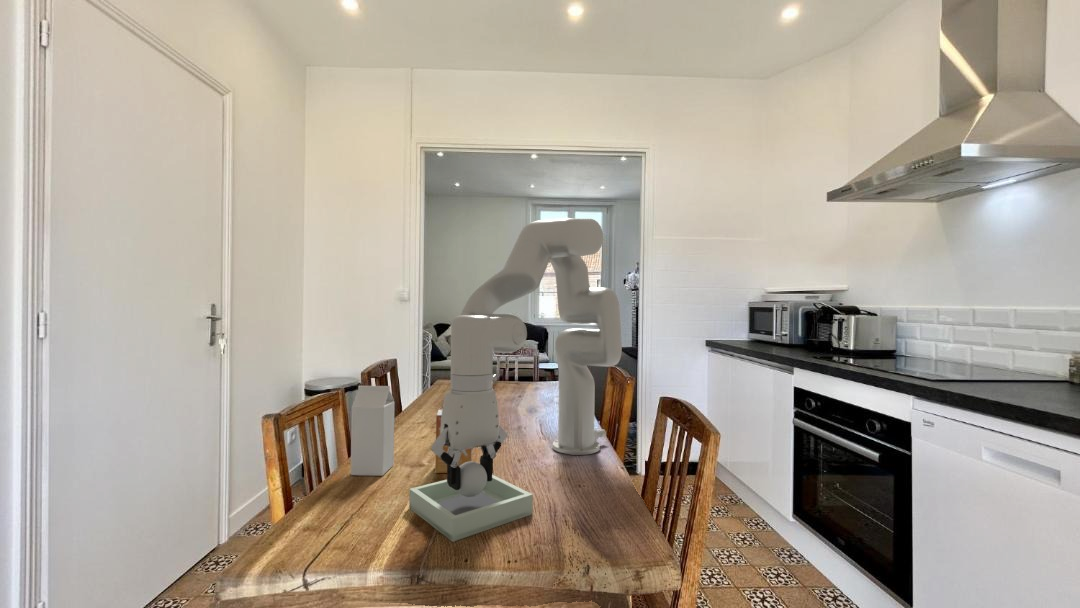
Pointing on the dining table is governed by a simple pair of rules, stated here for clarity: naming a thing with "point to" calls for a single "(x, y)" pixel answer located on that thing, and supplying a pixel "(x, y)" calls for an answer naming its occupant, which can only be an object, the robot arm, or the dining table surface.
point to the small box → (439, 464)
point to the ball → (472, 479)
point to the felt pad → (466, 503)
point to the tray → (459, 526)
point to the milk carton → (372, 431)
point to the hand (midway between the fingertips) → (470, 482)
